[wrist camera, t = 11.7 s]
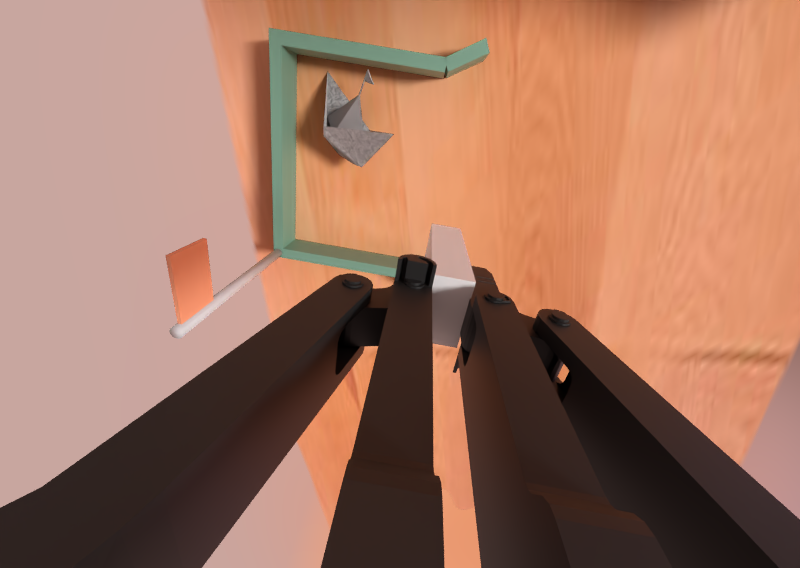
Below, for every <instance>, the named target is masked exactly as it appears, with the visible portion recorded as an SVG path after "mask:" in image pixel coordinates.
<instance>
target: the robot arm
mask: <svg viewBox="0 0 800 568" xmlns="http://www.w3.org/2000/svg"><path fill="white" fill-rule="evenodd" d="M372 288H373V284H372V282H371V281H370V280H369V279H368V278H366V277H363V276H360V275H357V274H351V273H350V274H343V275H339V276H337V277H334V278H333V279H332V280H330V281H329V282H328V283H326V284H325V285H323V286H322V287H321V288H319V289H318V290H316V291H315V292H314V293H312V294H311V295H309V296H308V297H307V298H305V299H304V300H302V301H301V302H300V303H298V304H297V305H295V306H294V307H293V308H291V309H290V310H288V311H287V312H286V313H284V314H283V315H281V316H280V317H279V318H277V319H276V320H274V321H273V322H272V323H270V324H269V325H267V326H266V327H265V328H264V329H262V330H260V331H259V332H258V333H256V334H255V335H254V336H252V337H251V338H249V339H248V340H246V341H245V342H244V343H243V344H241V345H240V346H238V347H237V348H235V349H234V350H233V351H231V352H230V353H228V354H227V355H226V356H224V357H223V358H221V359H220V360H219V361H217V362H216V363H214V364H213V365H212V366H210V367H209V368H207V369H206V370H205V371H203V372H202V373H200V374H199V375H198V376H196V377H195V378H193V379H192V380H191V381H189V382H188V383H186V384H185V385H184V386H182V387H181V388H180V389H178V390H177V391H175V392H174V393H172V394H171V395H170V396H168V397H167V398H165V399H164V400H163V401H161V402H160V403H158V404H157V405H156V406H154V407H153V408H151V409H150V410H149V411H147V412H146V413H145V414H143V415H142V416H140V417H139V418H138V419H136V420H135V421H133V422H132V423H131V424H129V425H128V426H127V427H125V428H124V429H122V430H121V431H119V432H118V433H117V434H115V435H114V436H113V437H111V438H110V439H108V440H107V441H106V442H104V443H103V444H101V445H100V446H98V447H97V448H96V449H94V450H93V451H91V452H90V453H89V454H87V455H86V456H85V457H83V458H82V459H80V460H79V461H77V462H76V463H75V464H74V465H72V466H70V467H69V468H68V469H66V470H65V471H63V472H62V473H61V474H59V475H58V476H56V477H55V478H54V479H52V480H51V481H50V482H48V483H47V484H45V485H44V486H43V487H41V488H39V489H37V490H35V491H33V492H31V493H29V494H27V495H25V496H23V497H21V498H19V499H17V500H15V501H13V502H11V503H9V504H7V505H5V506H3V507H1V508H0V568H202V567H203V565H204V564H205V563H206V561H207V560H208V559H209V557H210V556H211V554H212V553H213V552H214V551H215V549H216V548H217V547H218V545H219V544H220V543H221V541H222V540H223V539H224V537H225V536H226V535H227V533H228V532H229V531H230V529H231V528H232V527H233V525H234V524H235V523H236V521H237V520H238V519H239V517H240V516H241V515H242V513H243V512H244V511H245V509H246V508H247V506H248V505H249V504H250V502H251V501H252V500H253V499H254V497H255V496H256V495H257V493H258V492H259V491H260V489H261V488H262V487H263V485H264V484H265V483H266V481H267V480H268V479H269V477H270V476H271V475H272V473H273V472H274V471H275V469H276V468H277V466H278V465H279V464H280V463H281V461H282V460H283V459H284V457H285V456H286V455H287V453H288V452H289V451H290V449H291V448H292V447H293V445H294V444H295V443H296V441H297V440H298V439H299V437H300V436H301V435H302V433H303V432H304V431H305V429H306V428H307V427H308V425H309V424H310V423H311V421H312V420H313V419H314V417H315V416H316V415H317V413H318V412H319V411H320V409H321V408H322V407H323V405H324V404H325V403H326V401H327V400H328V399H329V397H330V396H331V395H332V393H333V392H334V391H335V389H336V388H337V387H338V385H339V384H340V383H341V381H342V380H343V379H344V377H345V376H346V375H347V373H348V372H349V371H350V369H351V368H352V367H353V365H354V364H355V363H356V361H357V360H358V359H359V357H360V356H361V355H362V353H363V351H364V346H378V350H377V354H376V358H375V363H374V367H373V371H372V375H371V379H370V383H369V387H368V391H367V395H366V399H365V403H364V408H363V412H362V416H361V420H360V424H359V428H358V432H357V436H356V440H355V444H354V448H353V452H352V456H351V459H349V461H348V464H347V467H346V471H345V474H344V478H343V482H342V486H341V490H340V494H339V498H338V502H337V506H336V510H335V514H334V518H333V522H332V525H331V529H330V533H329V537H328V541H327V545H326V550H325V553H324V557H323V561H322V565H321V568H444V540H443V539H444V538H443V507H442V506H443V505H442V488H441V481H440V478H439V476H435V475H434V468H433V343H434V344H440V345H445V346H450V347H456V348H457V345H458V342H459V338H460V336H461V346H460V349H459V353H458V356H457V359H456V363H455V366H454V370H453V372H454V373H456V371H457V369H458V368H459V370H460V379H461V388H462V397H463V406H464V415H465V424H466V433H467V442H468V451H469V460H470V469H471V478H472V487H473V496H474V505H475V513H476V523H477V531H478V541H479V550H480V559H481V568H800V519H798V518H797V517H796V516H795V515H794V514H793V513H792V512H791V511H790V510H788V509H787V508H786V507H785V506H784V505H783V504H782V503H781V502H779V501H778V500H777V499H776V498H775V497H774V496H773V495H772V494H770V493H769V492H768V491H767V490H766V489H765V488H764V487H763V486H761V485H760V484H759V483H758V482H757V481H756V480H755V479H754V478H752V477H751V476H750V475H749V474H748V473H747V472H746V471H745V470H743V469H742V468H741V467H740V466H739V465H738V464H737V463H736V462H735V461H733V460H732V459H731V458H730V457H729V456H728V455H727V454H726V453H724V452H723V451H722V450H721V449H720V448H719V447H718V446H717V445H716V444H714V443H713V442H712V441H711V440H710V439H709V438H708V437H707V436H705V435H704V434H703V433H702V432H701V431H700V430H699V429H698V428H696V427H695V426H694V425H693V424H692V423H691V422H690V421H689V420H687V419H686V418H685V417H684V416H683V415H682V414H681V413H680V412H678V411H677V410H676V409H675V408H674V407H673V406H672V405H671V404H670V403H668V402H667V401H666V400H665V399H664V398H663V397H662V396H661V395H659V394H658V393H657V392H656V391H655V390H654V389H653V388H652V387H650V386H649V385H648V384H647V383H646V382H645V381H644V380H643V379H641V378H640V377H639V376H638V375H637V374H636V373H635V372H634V371H633V370H631V369H630V368H629V367H628V366H627V365H626V364H625V363H624V362H622V361H621V360H620V359H619V358H618V357H617V356H616V355H615V354H613V353H612V352H611V351H610V350H609V349H608V348H607V347H606V346H604V345H603V344H602V343H601V342H600V341H599V340H598V339H597V338H596V337H594V336H593V335H592V334H591V333H590V332H589V331H588V330H587V329H585V328H584V327H583V326H582V325H581V324H580V323H579V322H578V321H576V320H575V319H574V318H572V317H571V316H569V315H567V314H566V313H564V312H562V311H560V312H559V310H551V309H542V310H540V311H539V312H538V314H537V317H536V319H535V318H532V317H529V316H526V315H523V314H521V313H519V312H518V310H517V308H516V306H515V303H514V302H513V301H512V299H511V298H510V297H508V296H506V295H504V294H502V293H500V292H499V290H498V287H497V285H496V283H495V280H494V278H493V276H492V274H491V273H490V272H489V271H488V270H486V269H485V268H480V267H474V266H471V263H470V260H469V257H468V253H467V250H466V246H465V243H464V239H463V236H462V232H461V229H459V228H454V227H448V226H443V225H437V224H432V225H431V230H430V235H429V240H428V245H427V249H426V254H425V257H423V256H419V255H412V254H410V255H403V256H400V257H399V258H398V263H397V269H396V275H395V281H394V285H392V286H390V287H388V288H381V289H372ZM563 364H565V365H566V367H567V368H568V369H569V373H568V375H567V377H566V379H565V381H564V382H562V381H560V379H559V378H558V377H557V376H558V374H559V372H560V370H561V368H562V366H563Z"/></svg>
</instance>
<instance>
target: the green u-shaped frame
mask: <svg viewBox="0 0 800 568" xmlns="http://www.w3.org/2000/svg"><path fill="white" fill-rule="evenodd" d="M489 53H490V52H489V48H488V44H487V39H486V38H485V39H483V40H481V41H479V42H477V43H474V44H472V45H470V46H468V47H466V48H464V49H462V50H460V51H458V52H455V53H453V54H451V55H449V56H447V57H442V56H436V55H430V54H424V53H418V52H412V51H406V50H400V49H394V48H388V47H382V46H376V45H370V44H364V43H357V42H351V41H345V40H339V39H333V38H327V37H321V36H315V35H309V34H303V33H297V32H291V31H285V30H279V29H273V28H269V61H270V106H271V151H272V196H273V241H274V251H273V252H271V253H270V254H269V255H267V256H266V257H265V258H263V259H262V260H261V261H259V262H258V263H257V264H255V265H254V266H253V267H251V268H250V269H249V270H248V271H246V272H245V273H244V274H242V275H241V276H240V277H238V278H237V279H236V280H234V281H233V282H232V283H230V284H229V285H228V286H226V287H225V288H224V289H222V290H221V291H220V292H218V293H217V294H216V295H214V296H213V289H212V281H211V272H210V264H209V256H208V247H207V239H205V238H202V239H200V240H198V241H196V242H193V243H192V244H189V245H187V246H185V247H183V248H181V249H178V250H176V251H174V252H172V253H170V254H168V255H166V260H167V265H168V271H169V277H170V282H171V288H172V294H173V299H174V305H175V310H176V316H177V322H178V323H177V324H176V325H175V326H173V327H172V328H171V329H170V334H171V335H172V336H173V337H174V338H182V337H183V336H184V335H185V334H186V333H188V332H189V331H190V330H191V329H192V328H194V327H195V326H196V325H197V324H199V323H200V322H201V321H202V320H203V319H205V318H206V317H207V316H208V315H210V314H211V313H212V312H213V311H214V310H216V308H218V307H219V306H220V305H222V304H223V303H224V302H225V301H227V300H228V299H229V298H230V297H231V296H233V295H234V294H235V293H236V292H237V291H238V290H240V289H241V288H242V287H243V286H244V285H246V284H247V283H248V282H250V281H251V280H252V279H253V278H254V277H256V276H257V275H258V274H259V273H261V272H262V271H263V270H264V269H265V268H267V267H268V266H269V265H270V264H271V263H273V262H274V261H275V260H276V259H278V258H279V257H282V258H288V259H294V260H299V261H305V262H311V263H316V264H322V265H328V266H333V267H339V268H345V269H350V270H356V271H362V272H368V273H373V274H379V275H385V276H390V277H395V275H396V269H397V263H398V258H399V257H395V256H389V255H383V254H377V253H372V252H366V251H360V250H355V249H349V248H343V247H337V246H332V245H326V244H320V243H315V242H309V241H303V240H297V239H295V213H296V99H297V54H299V55H305V56H311V57H317V58H323V59H329V60H335V61H341V62H347V63H353V64H359V65H365V66H371V67H377V68H383V69H389V70H395V71H401V72H407V73H413V74H419V75H425V76H431V77H437V78H444V74H445V75H446V78H448V77H450V76H452V75H454V74H456V73H459V72H461V71H463V70H465V69H467V68H469V67H472V66H474V65H476V64H478V63H480V62H483V61H484V60H485V58H486V57H487V56H488V54H489Z"/></svg>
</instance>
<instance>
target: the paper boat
mask: <svg viewBox="0 0 800 568" xmlns="http://www.w3.org/2000/svg"><path fill="white" fill-rule="evenodd" d="M365 81H366V82H368V83H371V84H373V85H374V83H373V80H372V77H371V75H370V72H369V70H368V69H367V72H366V75H365V78H364V81H363V84H362V87H361V90H360V93H359V95H358V96H357V97H355V98H354V99H352V100H351V101H348V99H347V98H346V96H345V95H344V94H343V92H342V91H341V89H340V88H339V87H338V85H337V84H336V82H335V81H334V80H333V78H332V77H331V75H330V74H329V73H328V72H327V86H326V100H325V114H324V137H325V138H326V139H327V141H328V142H329V143H330V144H331V145H332V147H333V148H334V149H335V150H336V152H337V153H338V154H339V155H340V156H342V157H343V158H345V159H347V160H348V161H350V162H351V163H353V164H355V165H357V166H360V167H362V166H363V165H364V164H365V163H366V162H367V161H368V160H369V159H370V158H371V157H372V156H373V155H374V154H375V153H376V152H377V151H378V150H379V149H380V148H381V147H382V146H383V145H384V144H385V143H386V142H387V141H388V140H389V139H390V138H391V137H392V136H393V135H394V134H389V133H382V132H376V131H370V130H369V129H368V127H367V126H366V125H365V123H364V122H363V120H362V114H361V104H360V94H361V91H362V88H363V85H364V82H365Z"/></svg>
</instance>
